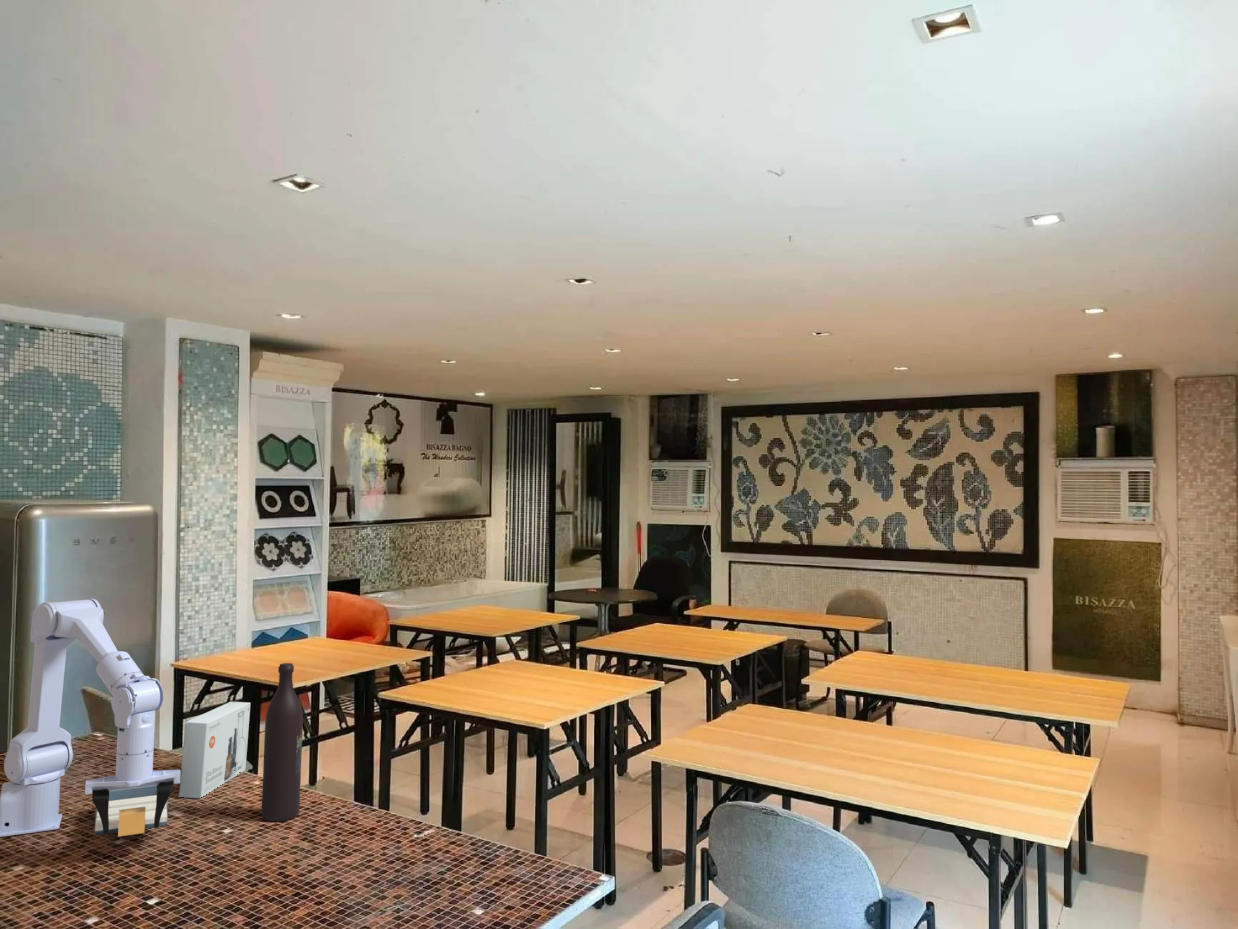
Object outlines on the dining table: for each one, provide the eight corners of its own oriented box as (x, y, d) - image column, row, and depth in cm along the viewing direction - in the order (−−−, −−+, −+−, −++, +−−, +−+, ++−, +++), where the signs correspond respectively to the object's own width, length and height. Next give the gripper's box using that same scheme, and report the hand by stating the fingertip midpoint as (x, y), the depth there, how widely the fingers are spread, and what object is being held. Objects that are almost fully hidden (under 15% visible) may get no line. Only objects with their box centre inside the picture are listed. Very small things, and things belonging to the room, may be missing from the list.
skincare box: (203, 799, 181) (206, 722, 182) (177, 798, 182) (181, 722, 182) (248, 769, 202) (251, 701, 203) (225, 769, 203) (228, 700, 203)
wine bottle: (299, 820, 170) (305, 666, 172) (261, 824, 168) (267, 668, 169) (298, 808, 177) (304, 660, 179) (261, 812, 174) (267, 662, 176)
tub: (94, 835, 160) (95, 813, 161) (97, 812, 173) (98, 791, 173) (167, 825, 166) (167, 804, 166) (165, 803, 178) (166, 783, 179)
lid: (93, 840, 147) (94, 818, 148) (98, 806, 164) (99, 787, 164) (167, 829, 153) (168, 808, 153) (165, 798, 169) (166, 779, 169)
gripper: (85, 761, 145) (81, 844, 144) (182, 751, 152) (178, 830, 151) (88, 751, 151) (84, 830, 151) (180, 741, 158) (177, 817, 157)
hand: (131, 829), depth 151 cm, fingers open, 7 cm apart
